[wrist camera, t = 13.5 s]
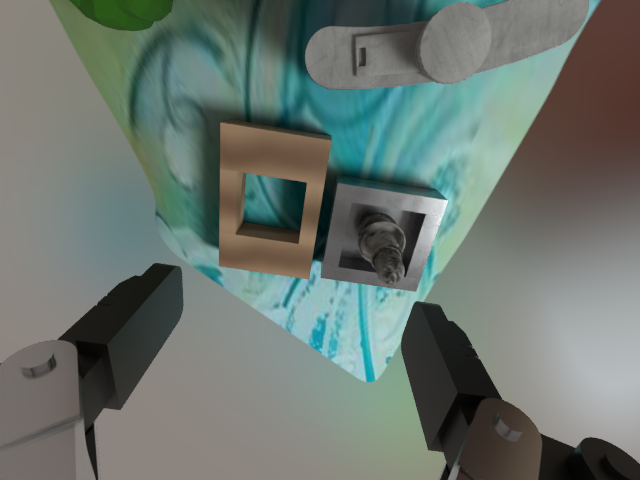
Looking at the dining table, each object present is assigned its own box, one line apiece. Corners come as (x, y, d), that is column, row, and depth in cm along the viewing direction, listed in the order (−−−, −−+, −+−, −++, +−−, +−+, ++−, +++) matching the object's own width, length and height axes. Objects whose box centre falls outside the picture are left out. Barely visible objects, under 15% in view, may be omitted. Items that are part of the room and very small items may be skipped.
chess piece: (348, 241, 42) (353, 293, 31) (368, 203, 39) (382, 246, 29) (385, 257, 43) (404, 313, 32) (408, 221, 40) (436, 269, 30)
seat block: (337, 174, 39) (337, 183, 35) (437, 190, 39) (448, 200, 36) (321, 262, 45) (320, 277, 41) (409, 275, 45) (416, 291, 41)
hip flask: (464, 30, 32) (637, -48, 14) (463, 74, 34) (616, 54, 16) (314, 59, 34) (295, 23, 16) (320, 99, 35) (310, 109, 17)
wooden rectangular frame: (231, 119, 36) (220, 122, 33) (331, 135, 37) (331, 140, 33) (228, 251, 44) (218, 266, 41) (310, 264, 45) (308, 279, 41)
